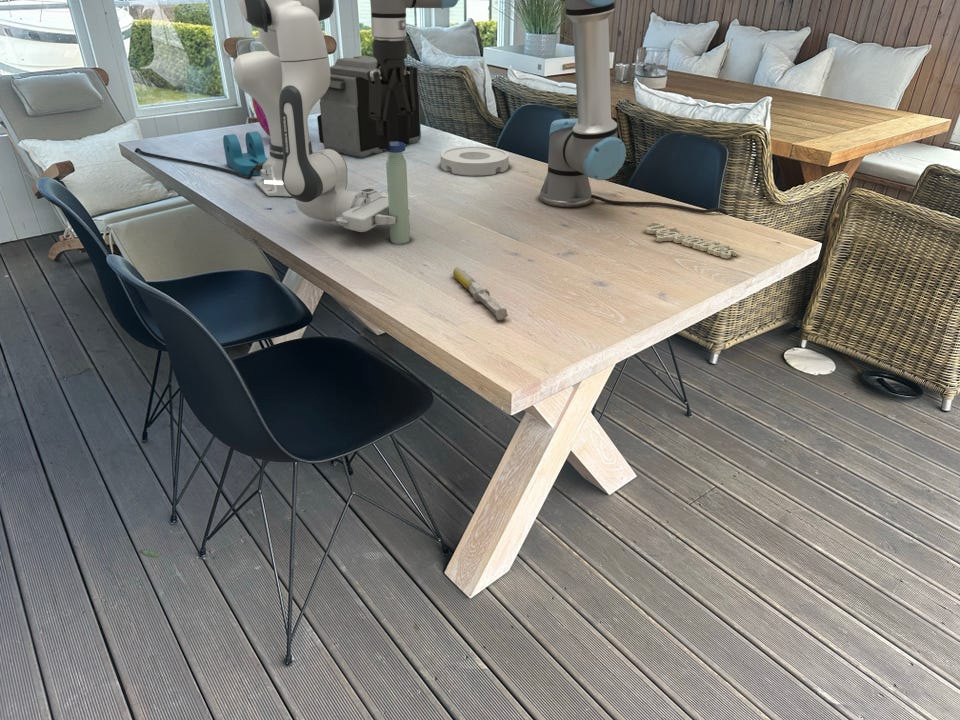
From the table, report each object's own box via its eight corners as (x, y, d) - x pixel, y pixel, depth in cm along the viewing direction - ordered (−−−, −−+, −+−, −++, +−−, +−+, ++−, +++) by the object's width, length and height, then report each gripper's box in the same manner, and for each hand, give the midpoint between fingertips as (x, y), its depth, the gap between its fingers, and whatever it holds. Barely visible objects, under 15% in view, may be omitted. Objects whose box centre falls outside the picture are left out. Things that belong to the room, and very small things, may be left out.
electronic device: (383, 133, 276) (378, 52, 261) (425, 141, 265) (422, 56, 250) (314, 150, 251) (304, 61, 235) (358, 160, 240) (350, 67, 224)
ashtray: (443, 157, 245) (443, 145, 243) (508, 158, 244) (508, 146, 242) (437, 174, 225) (437, 162, 223) (508, 176, 224) (508, 163, 222)
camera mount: (227, 164, 233) (221, 132, 227) (257, 160, 238) (252, 129, 233) (244, 176, 220) (239, 143, 215) (276, 172, 225) (271, 139, 220)
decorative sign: (632, 229, 179) (655, 221, 185) (631, 232, 179) (654, 224, 185) (722, 258, 162) (744, 248, 168) (721, 262, 162) (743, 252, 168)
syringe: (449, 274, 155) (449, 263, 153) (465, 272, 156) (464, 260, 154) (490, 323, 135) (491, 310, 133) (508, 319, 136) (508, 307, 134)
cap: (392, 147, 165) (392, 140, 164) (409, 149, 163) (408, 142, 162) (382, 151, 161) (381, 144, 160) (398, 153, 159) (398, 146, 159)
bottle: (397, 235, 176) (392, 142, 164) (413, 239, 174) (409, 144, 162) (386, 241, 172) (381, 146, 161) (402, 245, 171) (398, 148, 159)
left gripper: (329, 208, 165) (379, 216, 160) (374, 186, 181) (421, 193, 176) (332, 233, 168) (380, 242, 163) (376, 209, 184) (421, 216, 179)
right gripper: (373, 43, 141) (380, 157, 153) (429, 36, 155) (431, 140, 167) (346, 41, 144) (354, 152, 156) (403, 34, 159) (407, 136, 170)
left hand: (402, 216), depth 170 cm, fingers closed on bottle, 5 cm apart
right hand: (394, 146), depth 161 cm, fingers open, 7 cm apart
